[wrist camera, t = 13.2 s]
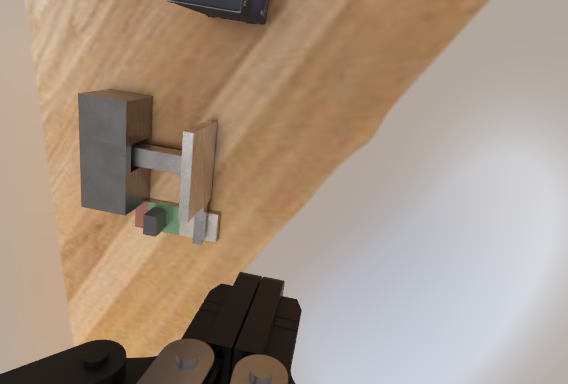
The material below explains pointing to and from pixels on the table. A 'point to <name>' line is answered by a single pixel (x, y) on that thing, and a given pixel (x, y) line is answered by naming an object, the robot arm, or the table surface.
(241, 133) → the table surface
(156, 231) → the block
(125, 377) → the robot arm
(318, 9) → the table surface
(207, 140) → the push plate
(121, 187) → the gauge base
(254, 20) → the small box
